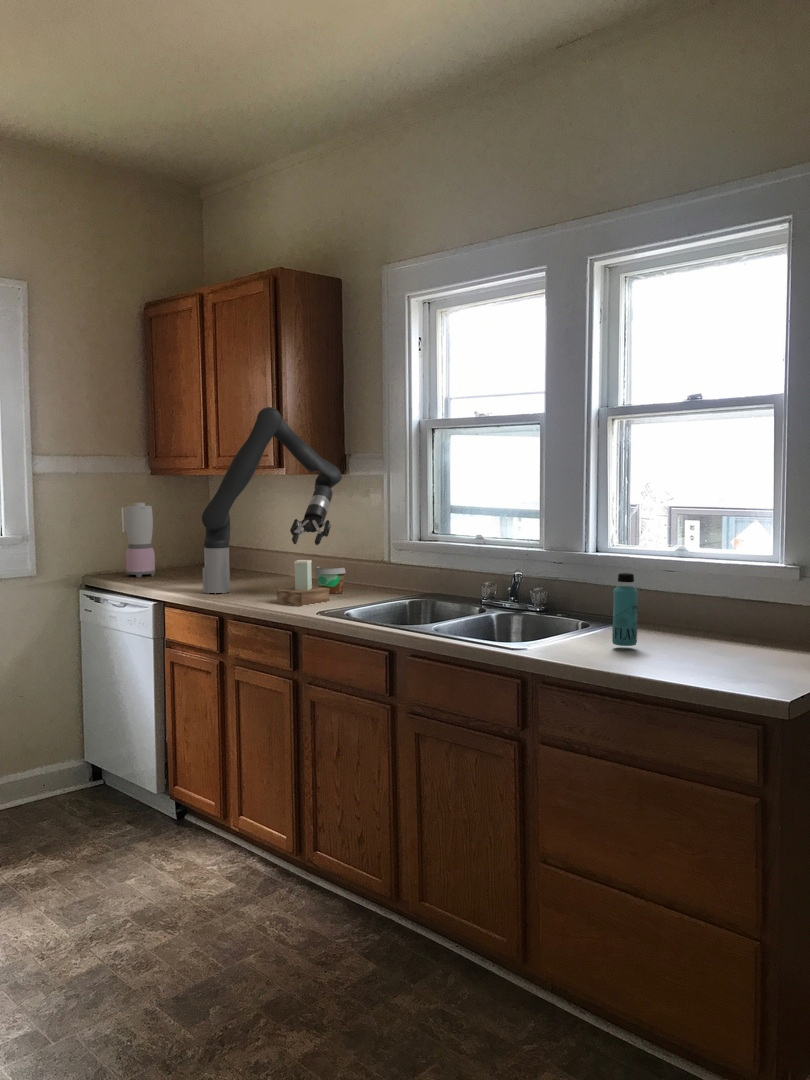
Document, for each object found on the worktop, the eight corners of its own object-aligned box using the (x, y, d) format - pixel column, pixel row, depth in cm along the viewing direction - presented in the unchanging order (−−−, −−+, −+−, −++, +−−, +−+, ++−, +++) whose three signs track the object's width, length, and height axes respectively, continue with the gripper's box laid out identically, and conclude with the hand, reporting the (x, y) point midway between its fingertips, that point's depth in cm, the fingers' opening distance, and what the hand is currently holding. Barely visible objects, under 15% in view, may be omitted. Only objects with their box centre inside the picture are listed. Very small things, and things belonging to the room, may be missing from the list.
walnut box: (276, 604, 310) (276, 590, 310) (305, 599, 321) (304, 585, 321) (301, 607, 303) (301, 593, 302) (329, 602, 314) (329, 588, 314)
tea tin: (294, 590, 310) (294, 561, 309) (299, 588, 314) (298, 559, 314) (307, 590, 309) (307, 561, 308) (312, 588, 313) (311, 560, 313)
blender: (160, 575, 389) (158, 502, 386) (134, 578, 380) (132, 503, 378) (144, 572, 400) (141, 501, 398) (118, 574, 392) (116, 502, 389)
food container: (309, 594, 332) (308, 567, 331) (318, 592, 337) (317, 565, 337) (337, 596, 326) (336, 569, 325) (345, 594, 332) (345, 567, 331)
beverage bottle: (610, 650, 229) (611, 574, 228) (613, 645, 236) (614, 571, 234) (635, 652, 227) (637, 575, 225) (638, 647, 233) (640, 572, 232)
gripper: (296, 502, 328) (283, 535, 318) (332, 503, 324) (320, 537, 314) (302, 516, 334) (289, 549, 324) (337, 517, 329) (326, 550, 320)
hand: (305, 543), depth 319 cm, fingers open, 8 cm apart
